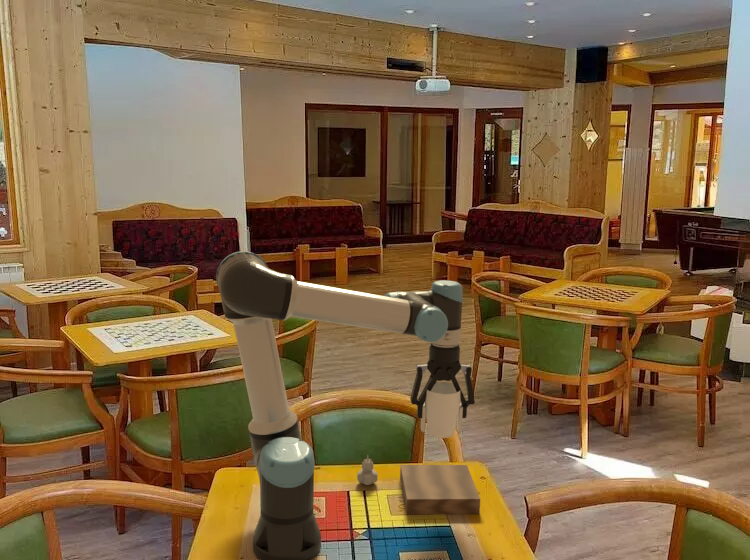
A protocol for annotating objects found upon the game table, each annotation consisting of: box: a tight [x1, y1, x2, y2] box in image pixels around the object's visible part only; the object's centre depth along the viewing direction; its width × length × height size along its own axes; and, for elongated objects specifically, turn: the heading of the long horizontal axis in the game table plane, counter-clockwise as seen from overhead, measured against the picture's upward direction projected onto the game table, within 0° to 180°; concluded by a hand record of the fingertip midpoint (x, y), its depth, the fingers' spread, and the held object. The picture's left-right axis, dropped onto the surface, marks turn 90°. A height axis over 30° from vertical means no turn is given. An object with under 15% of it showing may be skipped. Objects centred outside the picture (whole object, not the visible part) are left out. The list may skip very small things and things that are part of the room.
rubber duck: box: [356, 455, 379, 486], centre depth 179 cm, size 5×7×8 cm
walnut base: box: [399, 464, 481, 515], centre depth 175 cm, size 18×18×4 cm
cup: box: [425, 381, 461, 439], centre depth 170 cm, size 9×9×12 cm
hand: (441, 429), depth 172 cm, fingers closed on cup, 9 cm apart
